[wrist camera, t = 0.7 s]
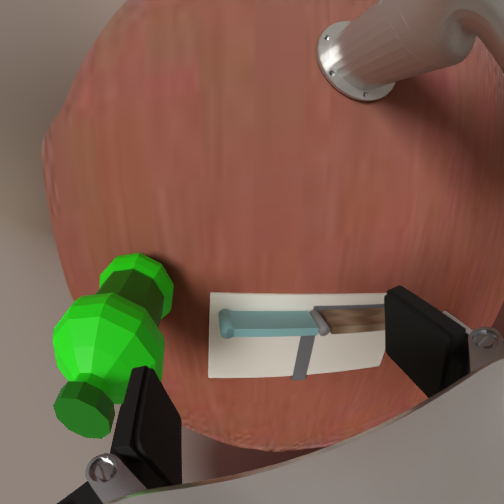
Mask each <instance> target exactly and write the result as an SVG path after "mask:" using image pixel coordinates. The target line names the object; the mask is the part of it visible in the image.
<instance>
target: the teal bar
mask: <svg viewBox="0 0 504 504" xmlns="http://www.w3.org/2000/svg"><path fill="white" fill-rule="evenodd" d="M218 316H219V326H220V335H221V336H222V337H223V338H225V339H229V338H232V337H283V336H311V335H318V333H319V334H320V335H321V336H326V335H327V334H329V332H330V328H329V326H328V325H327V324H326V322H325V321H324V319H323V318H322V317H321V315H320V314H319V312H318V311H317V310H311V311H310V312H309V311H230V310H228V309H222V310H220V311H219V314H218Z"/></svg>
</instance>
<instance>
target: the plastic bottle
mask: <svg viewBox="0 0 504 504" xmlns="http://www.w3.org/2000/svg"><path fill="white" fill-rule="evenodd" d="M173 289H174V284H173V282H172V281H171V279H170V277H169V275H168V274H167V272H166V270H165V268H164V267H163V265H162V264H161V263H159V262H157V261H155V260H153V259H151V258H149V257H147V256H145V255H143V254H142V253H135V254H129V255H122V256H117V257H116V258H115V259H114V260H113V261H112V262H111V264H110V265H109V266H108V267H107V268H106V269H105V271H104V272H103V273H102V274H101V275H100V289H99V290H98V291H97V293H96V294H95V295H88V296H82V297H80V298H79V299H77V300H75V302H74V303H73V304H72V305H71V307H70V308H69V309H68V311H67V312H66V313H65V315H64V316H63V317H62V318H61V320H60V321H59V323H58V324H57V325H56V327H55V328H54V330H53V346H54V351H55V358H56V363H57V367H58V368H59V370H60V371H61V372H62V374H63V375H64V376H65V378H66V379H67V380H68V383H66V384H65V386H64V387H63V388H62V389H61V391H60V393H59V395H58V397H57V399H56V401H55V403H54V405H53V406H54V410H55V413H56V416H57V418H58V419H59V420H60V421H61V422H62V423H63V424H64V425H65V426H66V427H67V428H68V429H69V430H71V431H73V432H75V433H77V434H79V435H81V436H84V437H87V438H100V439H102V438H103V437H105V436H106V435H107V434H109V433H110V432H111V428H112V424H113V420H114V416H115V411H114V404H123V402H124V398H125V394H126V390H127V386H128V382H129V378H130V375H131V371H132V369H133V368H136V367H141V366H145V365H146V366H148V367H149V368H153V369H154V371H155V372H156V374H157V376H158V378H159V380H160V382H161V381H162V374H163V362H164V348H165V342H164V336H163V334H162V333H161V331H160V330H159V329H158V328H159V324H160V320H161V319H162V318H164V317H165V316H166V315H167V314H168V313H169V312H170V311H171V306H172V298H173Z"/></svg>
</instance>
